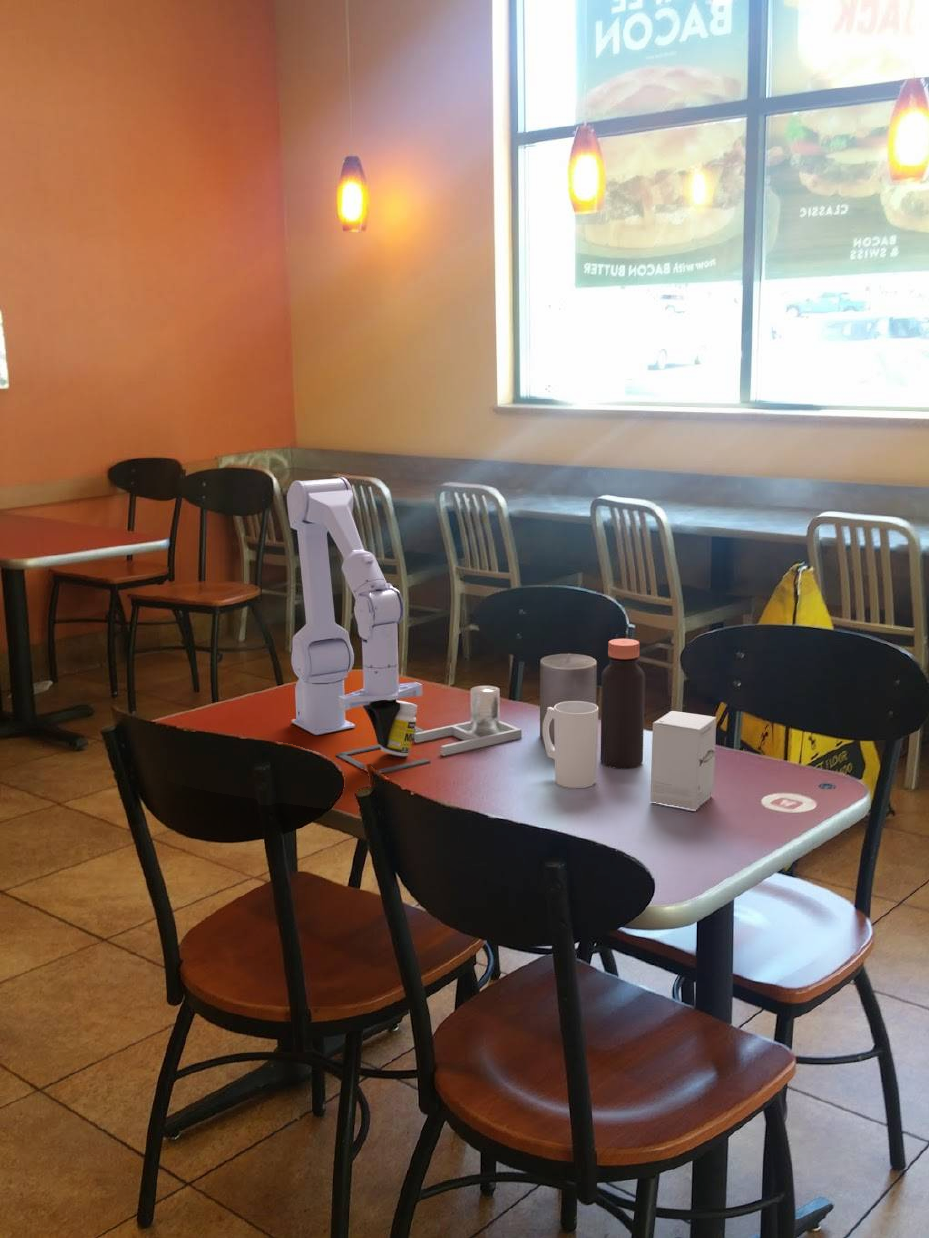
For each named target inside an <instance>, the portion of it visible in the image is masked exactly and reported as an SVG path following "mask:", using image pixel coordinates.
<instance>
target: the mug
mask: <svg viewBox="0 0 929 1238" xmlns="http://www.w3.org/2000/svg"><path fill="white" fill-rule="evenodd" d="M599 709H600V708H599V706H598V705H597V704H596V705H595V704H593V703H589V702H583V701H567V702H561V703H558V704H556V705H555V706H554V708H552V707H548V708H547V713H546V715H545V718H544V721H543V728H542V731H543V739H544V741H543V743H544V746H545V751H546V755H547V757H548V758H550V759H553V760H554V779H555V780H554V781H555V782H556V784H557V785H559V786H560V787H564V788H569V789H585V788H590V787H592V786H594V785H595V784H594V783H596V779H597V764H598V763H597V762H598V761H597V760H598V758H597V757H598V739H599V738H598V735H599V732H598V731H599V730H598V729H599ZM553 718H554V740H555V745H553V744H552V742H551V739H550V734H549V725H550V722H551V720H552V719H553ZM593 784H594V785H593ZM589 786H590V787H589Z"/></svg>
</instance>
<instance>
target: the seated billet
mask: <svg viewBox="0 0 929 1238" xmlns="http://www.w3.org/2000/svg"><path fill="white" fill-rule="evenodd" d="M500 691H501V690H500V688H499V687H497V686H495V685H494V686H493V685H478V686H477V685H476V686H474V687H472V688H470V721H471V733H473V734H475V735H477V736H480V737H483V736H487V735H492V734H496V733H500V721H501V719H500V718H501V717H500V716H501V713H500V712H501V708H500V707H501V706H500V705H501V704H500V701H501V699H500V698H501V697H500V696H501V695H500V694H501V693H500Z"/></svg>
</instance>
